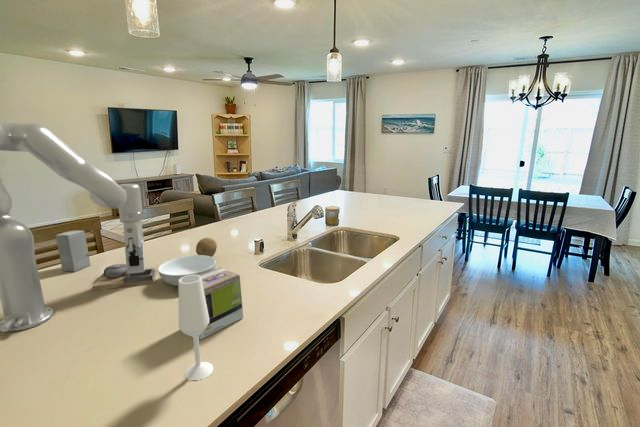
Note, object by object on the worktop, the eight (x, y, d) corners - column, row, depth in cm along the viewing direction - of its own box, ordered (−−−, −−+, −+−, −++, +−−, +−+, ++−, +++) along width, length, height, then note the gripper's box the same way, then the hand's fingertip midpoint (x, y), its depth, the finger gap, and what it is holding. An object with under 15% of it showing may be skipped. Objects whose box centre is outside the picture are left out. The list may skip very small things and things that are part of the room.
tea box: (224, 308, 110) (221, 266, 107) (243, 318, 104) (241, 274, 101) (181, 328, 99) (176, 281, 96) (200, 341, 93) (195, 292, 90)
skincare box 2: (126, 274, 126) (123, 243, 124) (128, 270, 130) (125, 240, 128) (145, 272, 129) (142, 241, 126) (146, 268, 133) (143, 238, 130)
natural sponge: (204, 264, 148) (202, 242, 145) (192, 259, 153) (190, 238, 151) (221, 258, 155) (219, 237, 152) (209, 254, 160) (208, 234, 158)
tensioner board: (153, 282, 129) (151, 270, 128) (93, 290, 123) (90, 277, 122) (157, 269, 142) (156, 258, 141) (103, 275, 136) (101, 264, 134)
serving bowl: (193, 266, 145) (192, 251, 144) (228, 276, 135) (227, 260, 133) (148, 284, 128) (146, 267, 126) (184, 297, 117) (182, 279, 116)
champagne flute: (188, 385, 77) (178, 288, 71) (180, 368, 82) (170, 277, 76) (217, 373, 80) (209, 280, 75) (208, 358, 86) (200, 270, 80)
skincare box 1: (74, 272, 139) (68, 235, 135) (60, 271, 140) (53, 234, 137) (92, 264, 147) (86, 230, 143) (78, 263, 148) (72, 229, 145)
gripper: (138, 221, 118) (143, 270, 122) (146, 212, 134) (149, 255, 138) (114, 222, 116) (119, 272, 120) (124, 213, 132) (129, 257, 135)
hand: (135, 263), depth 129 cm, fingers closed on skincare box 2, 4 cm apart
